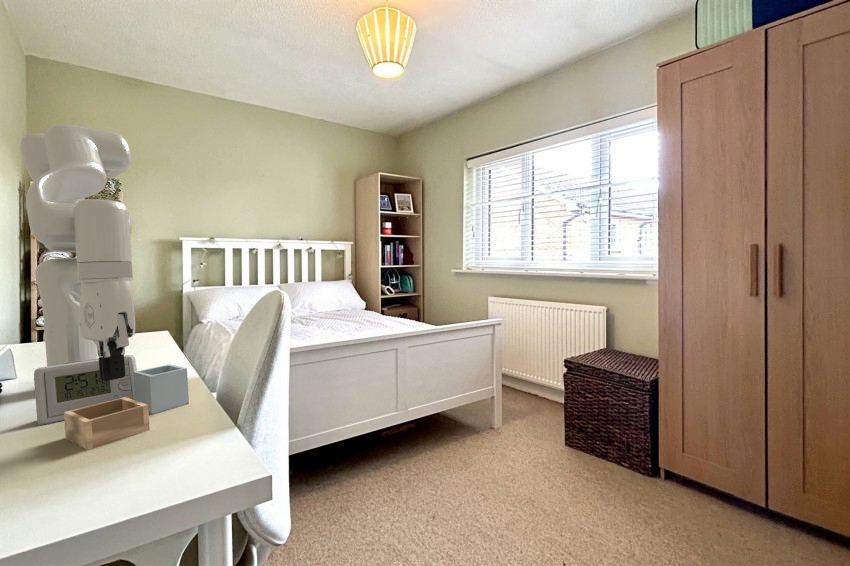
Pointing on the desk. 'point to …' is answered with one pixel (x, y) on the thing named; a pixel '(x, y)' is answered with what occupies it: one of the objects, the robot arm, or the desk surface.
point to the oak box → (106, 422)
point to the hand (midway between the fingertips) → (112, 378)
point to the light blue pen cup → (161, 387)
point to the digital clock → (78, 388)
